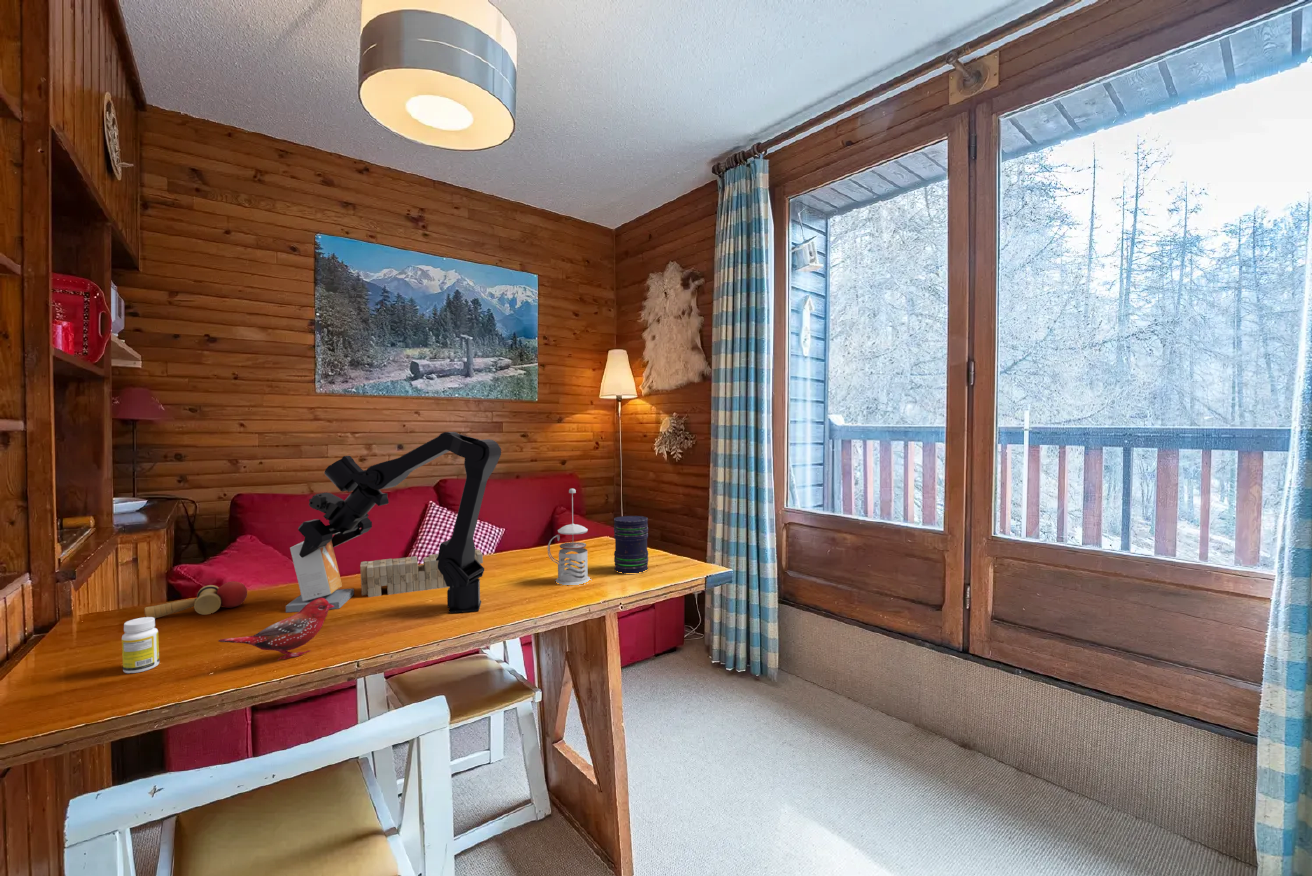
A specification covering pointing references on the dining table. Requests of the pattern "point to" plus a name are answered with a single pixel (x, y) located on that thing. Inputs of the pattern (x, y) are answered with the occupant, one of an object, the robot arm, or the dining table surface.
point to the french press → (571, 555)
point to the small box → (316, 571)
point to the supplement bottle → (140, 645)
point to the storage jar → (631, 544)
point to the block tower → (403, 575)
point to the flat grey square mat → (335, 598)
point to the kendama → (204, 600)
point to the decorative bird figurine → (290, 630)
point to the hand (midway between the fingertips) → (315, 551)
